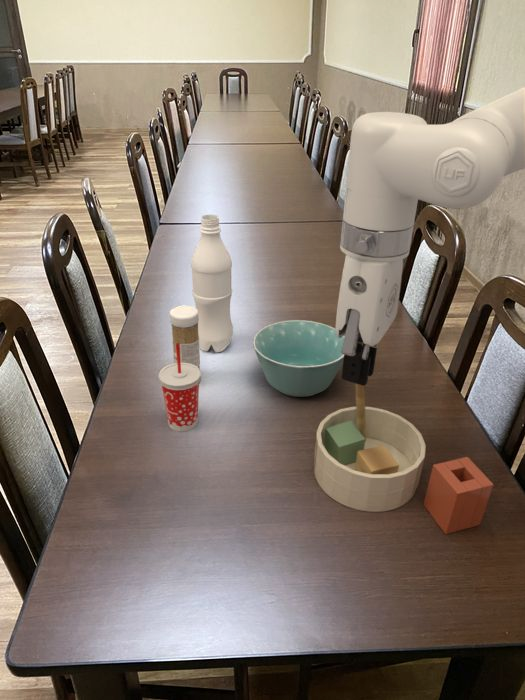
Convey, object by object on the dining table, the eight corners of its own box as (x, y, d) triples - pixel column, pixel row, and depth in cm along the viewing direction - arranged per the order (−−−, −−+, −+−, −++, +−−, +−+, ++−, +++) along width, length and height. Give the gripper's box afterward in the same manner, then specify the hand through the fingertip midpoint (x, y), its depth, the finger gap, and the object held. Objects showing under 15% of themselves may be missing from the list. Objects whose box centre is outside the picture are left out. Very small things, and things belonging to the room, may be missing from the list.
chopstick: (361, 435, 77) (357, 336, 65) (368, 439, 76) (365, 339, 65) (356, 440, 76) (350, 341, 65) (362, 444, 75) (358, 344, 64)
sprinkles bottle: (173, 374, 94) (168, 305, 87) (199, 371, 95) (196, 303, 88) (176, 389, 90) (171, 318, 83) (203, 385, 91) (200, 315, 84)
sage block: (349, 440, 78) (351, 420, 76) (362, 459, 75) (365, 439, 73) (324, 448, 77) (325, 427, 75) (337, 467, 74) (339, 447, 72)
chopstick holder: (455, 496, 71) (467, 456, 67) (480, 525, 67) (493, 484, 63) (423, 504, 70) (433, 464, 66) (445, 534, 66) (457, 493, 62)
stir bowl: (385, 430, 82) (390, 399, 79) (438, 498, 71) (447, 464, 67) (298, 449, 78) (301, 416, 75) (340, 523, 67) (345, 488, 64)
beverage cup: (160, 413, 85) (152, 336, 77) (198, 406, 86) (194, 330, 79) (166, 438, 80) (159, 358, 72) (207, 430, 81) (203, 351, 74)
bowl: (235, 374, 95) (235, 333, 90) (306, 349, 102) (309, 311, 98) (287, 422, 83) (290, 378, 79) (363, 390, 91) (369, 349, 87)
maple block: (380, 467, 74) (384, 444, 72) (394, 487, 71) (399, 465, 69) (353, 472, 73) (357, 450, 71) (367, 494, 70) (371, 471, 68)
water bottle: (194, 337, 105) (186, 211, 92) (230, 335, 106) (228, 210, 93) (196, 357, 99) (189, 225, 86) (235, 354, 100) (234, 223, 87)
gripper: (388, 268, 51) (365, 420, 61) (427, 223, 63) (402, 356, 72) (316, 253, 54) (305, 401, 63) (365, 213, 66) (350, 342, 75)
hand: (357, 376), depth 68 cm, fingers closed on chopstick
